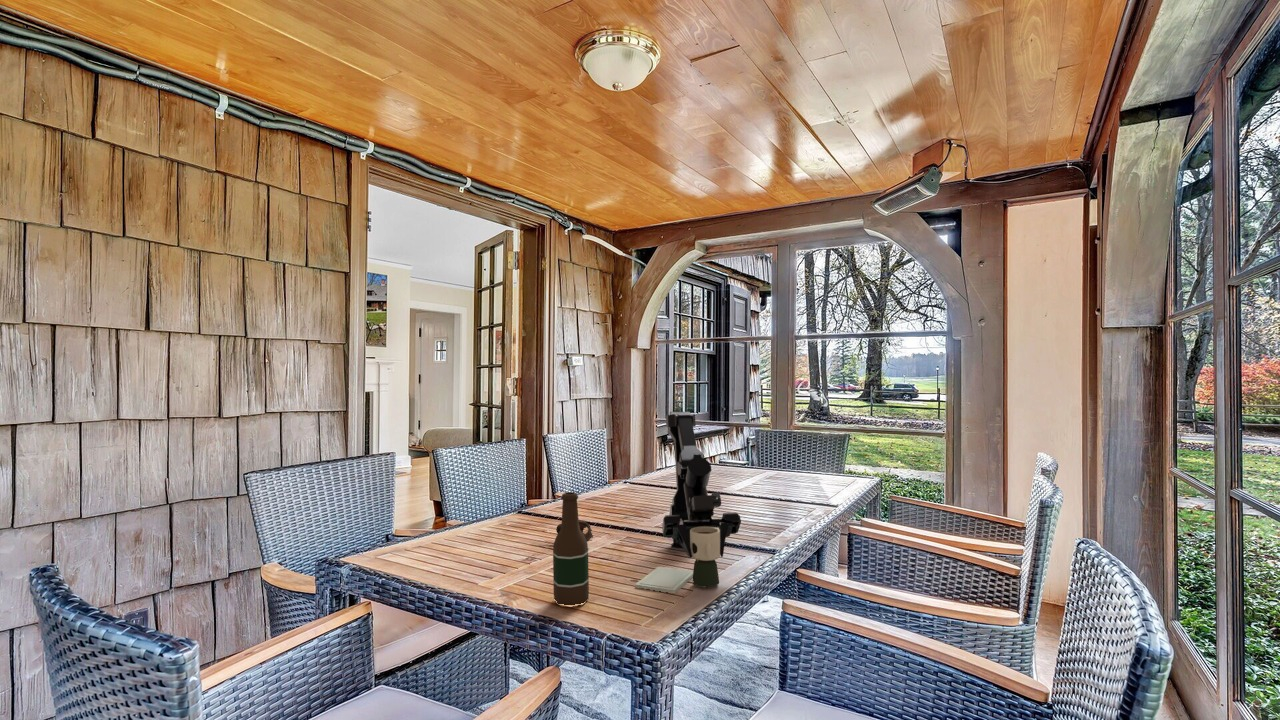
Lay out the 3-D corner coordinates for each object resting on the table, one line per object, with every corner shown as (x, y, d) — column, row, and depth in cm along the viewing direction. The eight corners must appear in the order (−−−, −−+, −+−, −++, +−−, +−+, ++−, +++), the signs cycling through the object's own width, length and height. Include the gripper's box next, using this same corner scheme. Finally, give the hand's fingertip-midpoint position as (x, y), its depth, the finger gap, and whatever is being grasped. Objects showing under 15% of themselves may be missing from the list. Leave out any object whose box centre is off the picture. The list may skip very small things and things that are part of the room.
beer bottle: (554, 595, 135) (553, 490, 136) (588, 594, 136) (587, 489, 137) (552, 609, 128) (551, 497, 128) (588, 607, 128) (587, 496, 129)
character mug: (688, 577, 145) (687, 524, 146) (716, 576, 146) (715, 523, 146) (693, 594, 135) (692, 536, 135) (725, 593, 135) (723, 536, 135)
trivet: (635, 587, 140) (635, 583, 140) (658, 569, 152) (658, 565, 152) (674, 593, 135) (674, 589, 135) (695, 574, 148) (695, 570, 148)
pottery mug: (597, 542, 180) (598, 522, 176) (584, 565, 172) (585, 544, 168) (561, 530, 183) (562, 510, 179) (547, 551, 175) (547, 531, 171)
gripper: (662, 482, 144) (669, 541, 133) (738, 479, 145) (751, 537, 134) (659, 507, 151) (665, 564, 140) (731, 504, 153) (743, 561, 142)
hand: (706, 556), depth 139 cm, fingers closed on character mug, 7 cm apart
